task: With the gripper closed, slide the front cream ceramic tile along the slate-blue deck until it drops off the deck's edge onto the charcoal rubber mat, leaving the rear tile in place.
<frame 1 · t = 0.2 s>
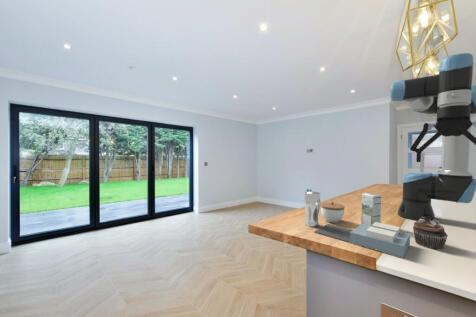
hand: (449, 174, 69), 27 cm above the worktop, tool pointing down, fingers open, 13 cm apart
beer glass: (311, 225, 101), on the worktop
syrup box: (370, 225, 101), on the worktop
lidded jar: (331, 221, 107), on the worktop
cupcake: (429, 245, 81), on the worktop
front tile: (380, 236, 77), point 4 cm above the worktop, touching deck
mat: (337, 232, 91), on the worktop
deck: (379, 244, 81), on the worktop
rear tile: (385, 231, 83), point 4 cm above the worktop, touching deck
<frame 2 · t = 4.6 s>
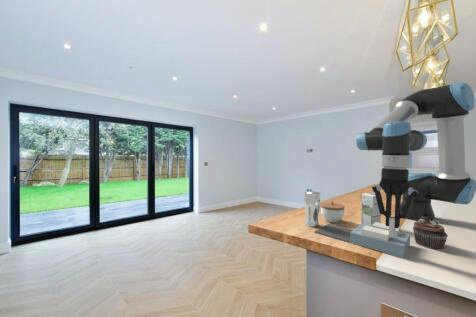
hand: (392, 236, 75), 5 cm above the worktop, tool pointing down, fingers closed
front tile: (376, 235, 78), point 4 cm above the worktop, touching deck
everything else where it was.
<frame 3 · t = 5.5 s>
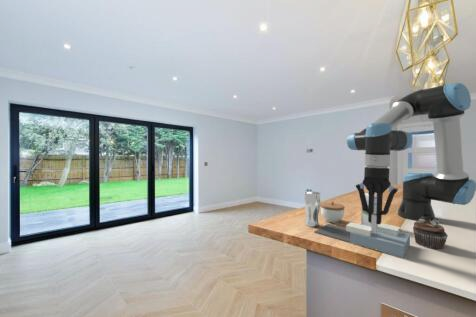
hand: (374, 232, 79), 5 cm above the worktop, tool pointing down, fingers closed
front tile: (359, 231, 82), point 4 cm above the worktop, touching deck, gripper
everything else where it was.
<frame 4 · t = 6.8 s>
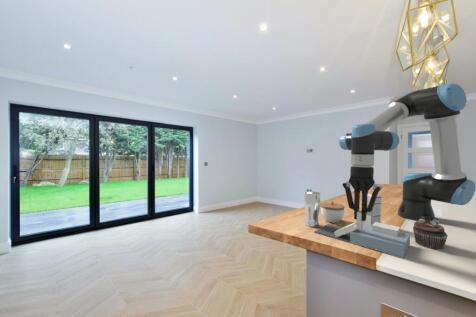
hand: (359, 228, 82), 5 cm above the worktop, tool pointing down, fingers closed
front tile: (348, 231, 85), point 3 cm above the worktop, tilted 35°, touching gripper
everything else where it was.
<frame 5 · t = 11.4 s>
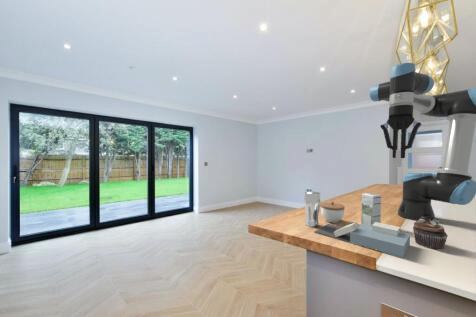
hand: (398, 166, 85), 28 cm above the worktop, tool pointing down, fingers closed
front tile: (347, 232, 85), point 3 cm above the worktop, tilted 34°, touching deck, mat
everything else where it was.
at the end: front tile point 2.6 cm above the worktop; front tile inside the target area (6.6 cm from its centre), point 2.6 cm above the worktop; rear tile moved 0.0 cm from its start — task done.
